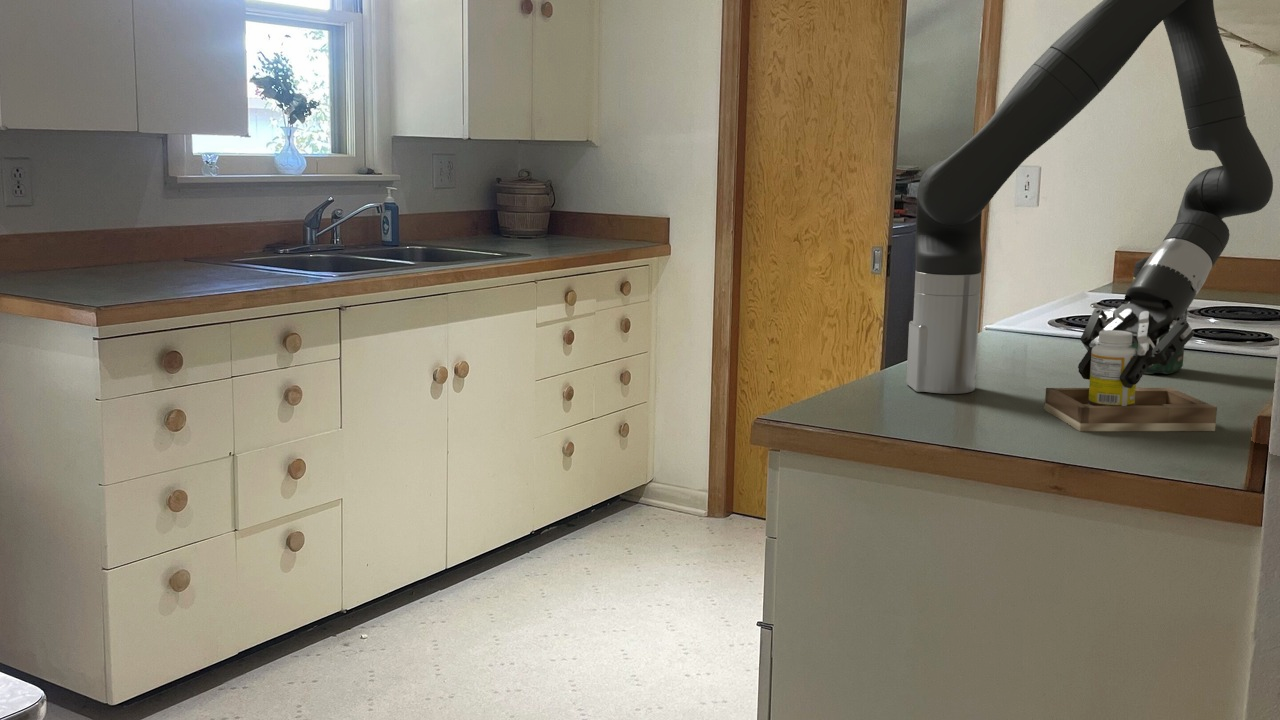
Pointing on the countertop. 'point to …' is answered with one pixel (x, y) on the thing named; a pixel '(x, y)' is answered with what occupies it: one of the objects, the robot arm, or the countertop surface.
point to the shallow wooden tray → (1132, 411)
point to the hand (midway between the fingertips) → (1103, 379)
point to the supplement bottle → (1111, 369)
